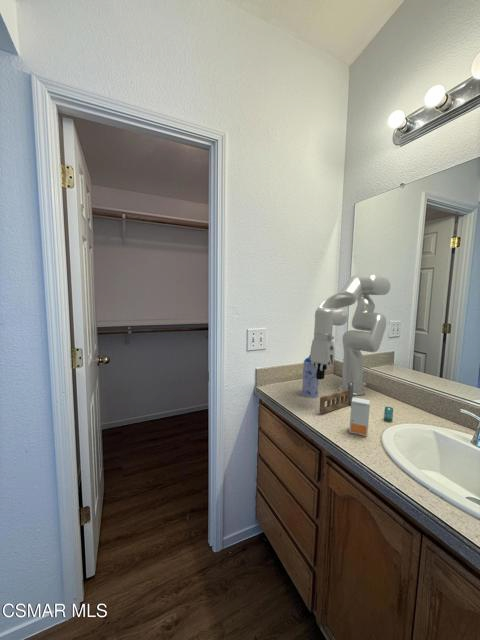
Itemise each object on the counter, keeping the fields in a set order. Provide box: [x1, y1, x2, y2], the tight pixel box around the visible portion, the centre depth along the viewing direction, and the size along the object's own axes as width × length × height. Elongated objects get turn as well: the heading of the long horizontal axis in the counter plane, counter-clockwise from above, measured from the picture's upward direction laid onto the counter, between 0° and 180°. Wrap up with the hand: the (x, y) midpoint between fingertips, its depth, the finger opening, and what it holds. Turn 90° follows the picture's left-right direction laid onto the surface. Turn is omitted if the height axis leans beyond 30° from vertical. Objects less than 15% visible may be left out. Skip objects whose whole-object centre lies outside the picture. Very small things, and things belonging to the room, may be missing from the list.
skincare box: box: [348, 397, 371, 437], centre depth 99 cm, size 6×4×12 cm
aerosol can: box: [301, 354, 320, 399], centre depth 135 cm, size 8×8×20 cm
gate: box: [319, 389, 350, 415], centre depth 118 cm, size 18×1×7 cm, turn 123°
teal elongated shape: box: [347, 383, 394, 423], centre depth 116 cm, size 3×20×10 cm, turn 33°
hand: (320, 378), depth 120 cm, fingers closed
